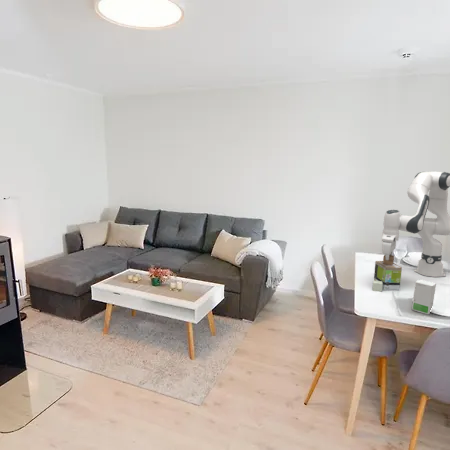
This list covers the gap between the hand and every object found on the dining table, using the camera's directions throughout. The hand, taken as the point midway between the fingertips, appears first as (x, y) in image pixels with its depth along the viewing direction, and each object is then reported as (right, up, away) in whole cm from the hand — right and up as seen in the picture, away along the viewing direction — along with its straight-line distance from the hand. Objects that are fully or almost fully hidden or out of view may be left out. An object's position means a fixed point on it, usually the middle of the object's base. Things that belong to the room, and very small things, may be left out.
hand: (388, 258), depth 209 cm
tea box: (0, -18, +3) cm, 18 cm away
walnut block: (0, -3, +1) cm, 3 cm away
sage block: (-8, -19, -3) cm, 21 cm away
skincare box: (+2, -24, -32) cm, 41 cm away
